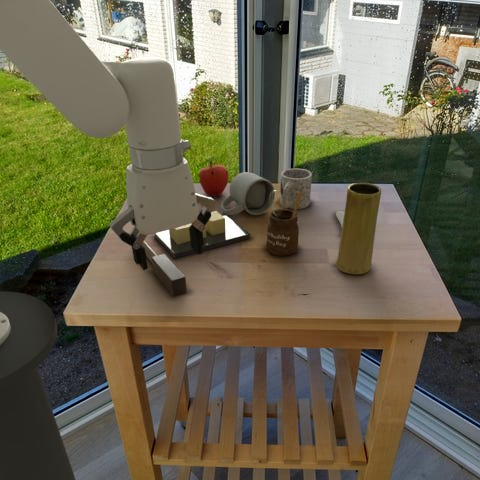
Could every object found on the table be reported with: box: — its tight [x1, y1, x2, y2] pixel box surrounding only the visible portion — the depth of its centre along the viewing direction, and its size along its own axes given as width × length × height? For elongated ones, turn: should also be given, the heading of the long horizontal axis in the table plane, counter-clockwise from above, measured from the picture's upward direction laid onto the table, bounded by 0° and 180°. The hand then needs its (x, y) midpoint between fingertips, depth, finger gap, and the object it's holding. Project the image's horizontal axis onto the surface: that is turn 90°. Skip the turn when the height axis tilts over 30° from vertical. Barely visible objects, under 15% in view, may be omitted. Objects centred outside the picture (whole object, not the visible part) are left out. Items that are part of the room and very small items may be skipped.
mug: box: [279, 167, 313, 210], centre depth 108 cm, size 10×7×7 cm, turn 153°
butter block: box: [169, 223, 206, 244], centre depth 95 cm, size 6×4×3 cm, turn 119°
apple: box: [198, 154, 229, 197], centre depth 112 cm, size 8×7×10 cm
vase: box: [335, 182, 382, 275], centre depth 83 cm, size 6×6×14 cm
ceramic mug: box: [220, 171, 276, 216], centre depth 106 cm, size 11×8×8 cm
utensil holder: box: [266, 189, 303, 257], centre depth 90 cm, size 6×6×12 cm
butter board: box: [153, 214, 251, 259], centre depth 97 cm, size 16×10×1 cm, turn 119°
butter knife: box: [335, 210, 345, 228], centre depth 96 cm, size 1×24×3 cm
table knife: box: [142, 240, 187, 297], centre depth 87 cm, size 2×19×3 cm, turn 29°
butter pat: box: [206, 210, 226, 235], centre depth 97 cm, size 3×4×3 cm
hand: (170, 258), depth 82 cm, fingers open, 9 cm apart
